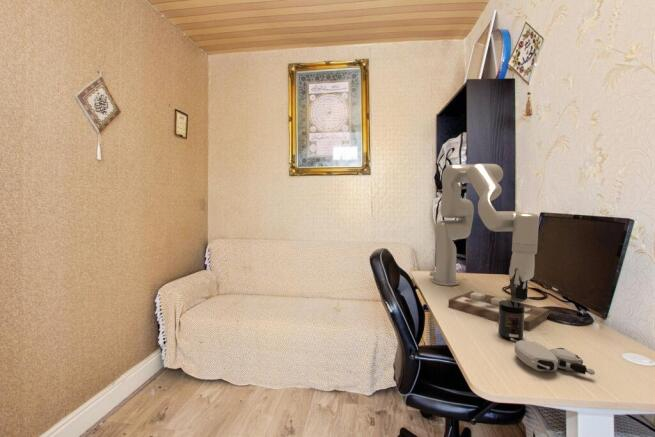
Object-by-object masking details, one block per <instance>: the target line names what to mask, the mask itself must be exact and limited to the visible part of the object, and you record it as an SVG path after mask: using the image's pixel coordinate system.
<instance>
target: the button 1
mask: <svg viewBox="0 0 655 437" xmlns="http://www.w3.org/2000/svg"><path fill="white" fill-rule="evenodd" d="M477 292H478V291H474V293H471V294H470V298H472V299H476V300H480V301H482V300H484V299H485V294H486V293H481V292H478V293H477Z"/></svg>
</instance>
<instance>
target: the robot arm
mask: <svg viewBox="0 0 655 437" xmlns="http://www.w3.org/2000/svg"><path fill="white" fill-rule="evenodd" d="M503 176H504V170H503V169H502V166H500V165H498V164H496V163H474V164H469V163H468V164H466V163H464V164H463V163H454V164H450V165H447V166H446V167H445V168H444V169H443V171H442V174H441V184H442V191H441V199H440V200H441V201H440V208H439V210H440V212H439V213H440V215H441V217H443V218H447V219H445V220H444V219H443V220H439V221H438V222H436V223H435V225H434V235H435V236H434V237H435V248H436V249H435V271H430V272H429V276H430V277H433V278H432V279H431V280H432V283H434V284H436V285H440V286H446V287H449V286H450V287H451V286H453V287H454V286H457V285H459V284H460V281H459V279H456V278H457V247H456V246H457V245H456V244H455V243H454V242H455V241H453V240H462V239H467V238H468V237H469V236H470V235H471V231H472V226H473V220H474V213H475V208H474V204H473V202H472V201H471V200H470V199H468V198H461V196H462V195H461V194H462V189H461V186H460V184H464V183H465V184H466V183H467V184H468V183H469V184H471V185H472V187H473V188H474V190H475V192H476V193H477V195H478V197H479V200H478V204H477V214H478V215H479V218H480V219H481V221H482V223H483V224H484V226H485V227H486V228H487V229H488V230H489V231H491V232H495V233H496V232H512V239H511V241H512V242H511V244H512V245H511V252H512V254H511V258H510V264H509V268H510V272H508V278H509V280H510V279H514V278H515V282H514V284H515V285H516V296H515V297H516V298H518V299H522V300H524V301H525V300H527V299H528V288H529V283H530V280H531V279H532V278H534V276H535V267H536V266H535V265H536V263H535V260H536V257H535V255H536V254H538V242H539V241H538V240H539V223H540V216H539V215H538V214H536V213H532V212H531V213H529V212H528V213H527V212H522V211H515V210H514V211H513V210H509V211H508V210H506V211H505V210H504V211H502V210H501V211H497V210H496V209H495V207H494V206H493V204H492V201H494V200H496V199H497V198H498V197H499V196H500V195H501V194H502V190H503V189H502V186H501V185H500V184H499V183H500V182H501V181H502V180H503ZM459 183H460V184H459Z"/></svg>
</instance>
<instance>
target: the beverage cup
mask: <svg viewBox="0 0 655 437" xmlns="http://www.w3.org/2000/svg"><path fill="white" fill-rule="evenodd" d="M507 272H508V273H509V272H510V267H509V269H508V271H507ZM514 282H515V278H514V279H510V278H509V288H510V289H509V292H510V299H511V301H516V302H524V301H525V300H522V299H518V298H516V297H515V296H516V285H515V284H514Z"/></svg>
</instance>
